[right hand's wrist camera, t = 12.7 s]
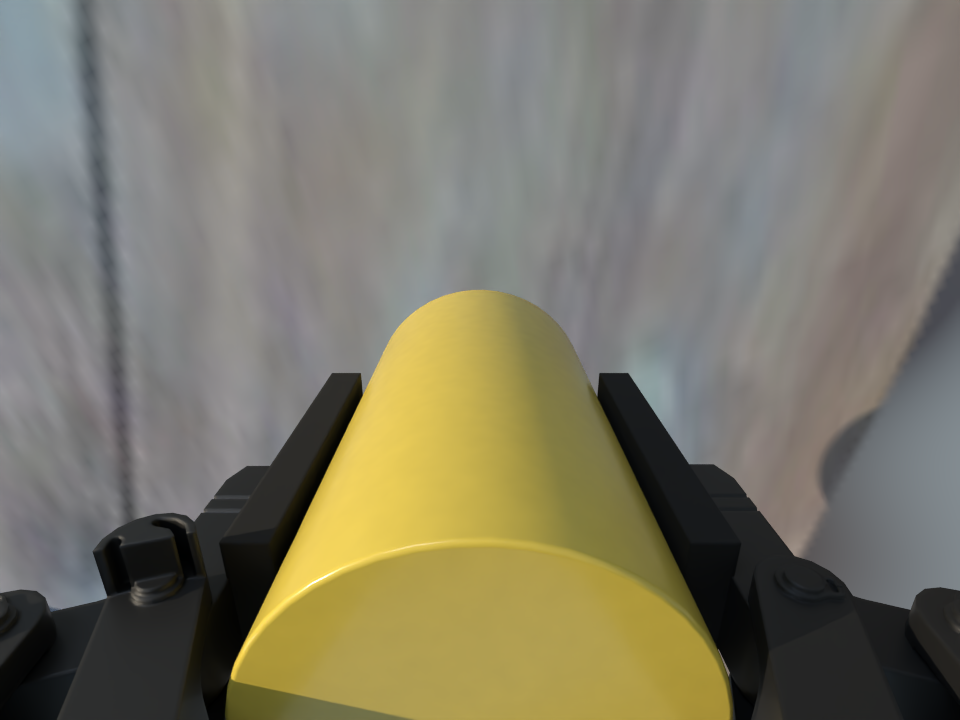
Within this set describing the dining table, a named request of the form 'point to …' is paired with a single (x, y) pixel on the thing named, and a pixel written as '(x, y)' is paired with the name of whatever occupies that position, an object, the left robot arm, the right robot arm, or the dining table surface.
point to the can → (479, 550)
